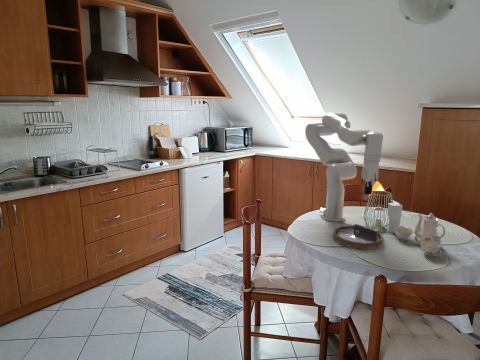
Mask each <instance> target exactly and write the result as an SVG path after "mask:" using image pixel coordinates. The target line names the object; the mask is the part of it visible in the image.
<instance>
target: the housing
mask: <svg viewBox="0 0 480 360" xmlns="http://www.w3.org/2000/svg"><path fill="white" fill-rule="evenodd" d="M344 228H354V225H342V226H339V227H336V228H334V229H333V235H332V239H333V242H335V243H337V244H339V245H341V246H343V247H345V248H350V249H354V250H360V251H372V250H373V251H374V250H378V249H379V248H381V247H383V246H384V239H385V238H384V236H383V234H382V233H381V232H379V231H378V234H377V235H378V236H379V238H380V239H378V241H377V242H370V243H362V242H353V241H350V240H346V239H343V238H341V237H340V236H338V235H337V232H338V231H339V230H341V229H344Z"/></svg>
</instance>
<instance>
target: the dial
mask: <svg viewBox="0 0 480 360" xmlns="http://www.w3.org/2000/svg"><path fill="white" fill-rule="evenodd" d="M353 226H354V228H344V229H341V230H339V231H338V232H337V235H338V236H340V237H341V238H343V239H346V240H350V241H353V242H362V243H370V242H377V241H378V239H380V238H379V236H378V235H377V234H378V232H379V229H377V228H375V229H373V228H369V227H366V226H364V225H360V224H357V223H356V224H354V225H353Z"/></svg>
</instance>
